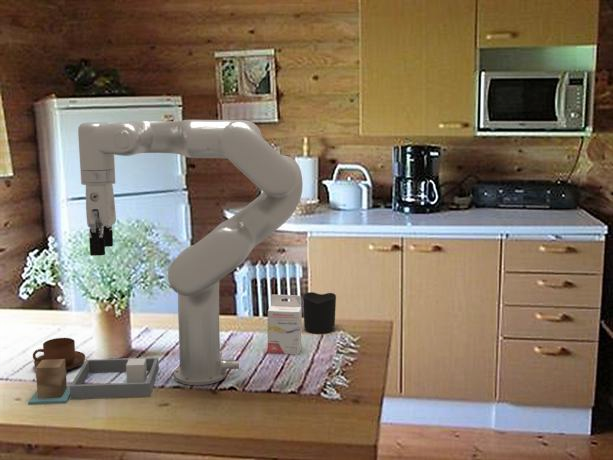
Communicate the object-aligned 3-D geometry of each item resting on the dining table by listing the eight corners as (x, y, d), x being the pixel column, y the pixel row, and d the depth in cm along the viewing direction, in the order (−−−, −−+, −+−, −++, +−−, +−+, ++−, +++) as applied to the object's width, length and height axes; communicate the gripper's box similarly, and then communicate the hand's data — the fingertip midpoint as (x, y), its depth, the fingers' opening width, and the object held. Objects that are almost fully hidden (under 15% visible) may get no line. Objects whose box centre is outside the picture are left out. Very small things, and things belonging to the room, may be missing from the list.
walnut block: (66, 388, 156) (64, 359, 155) (61, 397, 151) (59, 367, 150) (44, 389, 156) (42, 359, 154) (37, 398, 151) (35, 368, 149)
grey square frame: (158, 369, 169) (158, 357, 168) (150, 396, 153) (149, 383, 153) (86, 371, 167) (86, 359, 167) (70, 399, 152) (69, 386, 151)
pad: (75, 388, 158) (75, 385, 158) (66, 403, 150) (66, 400, 150) (39, 389, 157) (39, 386, 157) (28, 404, 149) (28, 401, 149)
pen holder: (318, 336, 193) (318, 302, 191) (296, 328, 200) (296, 295, 198) (342, 329, 199) (342, 296, 197) (320, 322, 206) (320, 289, 204)
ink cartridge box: (267, 353, 180) (266, 299, 177) (269, 347, 184) (269, 293, 182) (299, 355, 179) (299, 300, 176) (301, 348, 184) (301, 294, 181)
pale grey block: (147, 378, 163) (146, 358, 163) (144, 385, 160) (143, 364, 159) (129, 379, 163) (128, 359, 162) (127, 385, 159) (126, 365, 158)
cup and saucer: (50, 379, 163) (48, 354, 162) (25, 367, 171) (23, 343, 170) (95, 365, 172) (93, 341, 171) (69, 354, 180) (68, 331, 179)
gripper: (107, 181, 149) (111, 258, 152) (121, 173, 166) (124, 243, 169) (72, 181, 149) (76, 259, 152) (89, 173, 166) (93, 243, 169)
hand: (102, 250), depth 161 cm, fingers open, 9 cm apart
